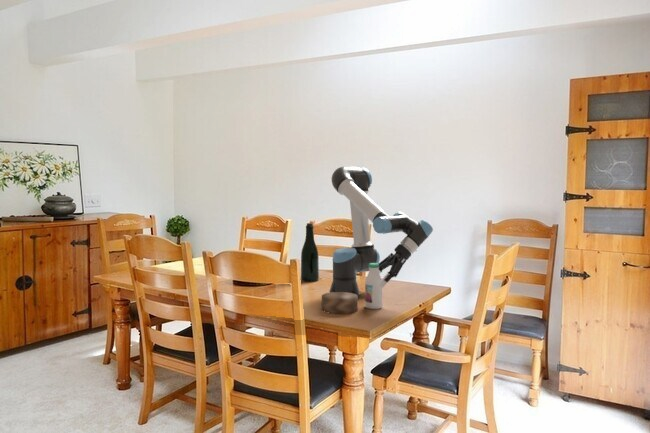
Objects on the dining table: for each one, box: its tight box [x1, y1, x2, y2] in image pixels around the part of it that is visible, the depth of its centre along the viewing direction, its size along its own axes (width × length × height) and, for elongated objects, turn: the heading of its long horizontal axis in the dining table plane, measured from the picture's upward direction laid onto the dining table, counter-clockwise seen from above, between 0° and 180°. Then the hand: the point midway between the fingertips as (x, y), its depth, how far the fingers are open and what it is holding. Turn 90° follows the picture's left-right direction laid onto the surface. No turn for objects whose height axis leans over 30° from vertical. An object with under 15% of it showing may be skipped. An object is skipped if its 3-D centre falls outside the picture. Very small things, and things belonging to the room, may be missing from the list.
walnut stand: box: [321, 292, 359, 315], centre depth 222 cm, size 16×16×6 cm
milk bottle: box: [364, 263, 383, 310], centre depth 225 cm, size 8×8×20 cm
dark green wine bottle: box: [300, 222, 320, 282], centre depth 285 cm, size 10×10×33 cm
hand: (374, 283), depth 224 cm, fingers open, 13 cm apart
